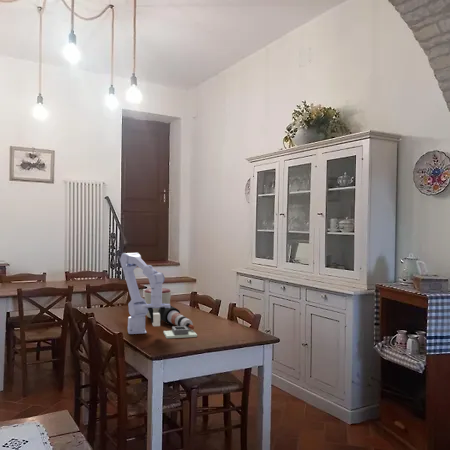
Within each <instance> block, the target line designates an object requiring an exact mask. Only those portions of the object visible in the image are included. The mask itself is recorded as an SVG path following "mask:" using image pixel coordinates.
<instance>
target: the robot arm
mask: <svg viewBox="0 0 450 450" xmlns="http://www.w3.org/2000/svg"><path fill="white" fill-rule="evenodd" d="M119 263H120V265H121V269H122V271H123V275H124V278H125V279H124V280H125V282H126V285H127V289H128V293H129V296H130V301H129V302H128V304H127V305H128V306H127V307H128V313H129V315H130V316H128V317H127V333H128V335H134V334H135V335H137V334H138V335H140V334H147V330H146V316H147V313H148V311H149V314H150V317H151V318H150V323H151V324H152V323H153V309H152V308H159V312H160V323H162V320H161V319H162V316H163V313H164V311H165V308H170V305H171V303H170V304H162V288H163V284H164V282H165V278H166V277H165V275H164V273H163V272H159V271H158V270H156V269H155V268H154V267H153V265H151V264H147V263H146V262H145V261H144V260H143V259H142V255H141V254H140V253H139V252H127V253H126V252H124V253H121V255H120V257H119ZM137 267H138V268H139V269H141V270H142V274H143V275H144V276H146V278H147V279H148V282H149V286H150V287H149V288H151V304H147V303H146V301H145V298H143V297H142V295H141V292H140V289H139V286H138V282H137V279H136V276H135V271H134V270H135V269H136V268H137Z"/></svg>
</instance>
